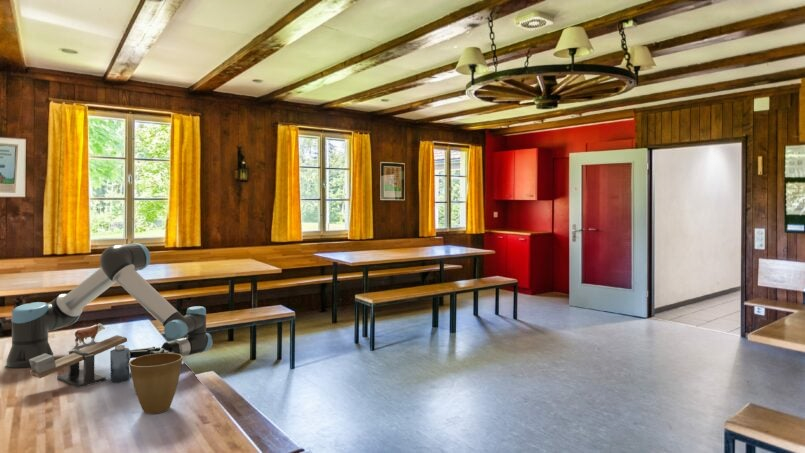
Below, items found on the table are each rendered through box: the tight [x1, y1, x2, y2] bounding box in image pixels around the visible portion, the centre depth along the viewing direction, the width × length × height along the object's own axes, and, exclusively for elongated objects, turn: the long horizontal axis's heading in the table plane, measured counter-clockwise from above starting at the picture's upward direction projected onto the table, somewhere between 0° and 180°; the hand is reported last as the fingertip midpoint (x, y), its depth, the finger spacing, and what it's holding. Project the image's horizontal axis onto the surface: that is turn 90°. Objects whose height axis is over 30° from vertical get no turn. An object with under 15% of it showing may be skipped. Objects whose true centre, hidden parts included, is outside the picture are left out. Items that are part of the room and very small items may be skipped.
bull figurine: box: [74, 323, 106, 346], centre depth 228 cm, size 4×13×8 cm, turn 155°
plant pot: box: [129, 353, 183, 415], centre depth 153 cm, size 15×15×16 cm
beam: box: [29, 334, 128, 379], centre depth 178 cm, size 9×30×6 cm, turn 148°
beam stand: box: [56, 349, 107, 388], centre depth 179 cm, size 16×9×10 cm, turn 58°
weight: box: [110, 344, 131, 384], centre depth 179 cm, size 6×6×12 cm
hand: (122, 362), depth 179 cm, fingers open, 13 cm apart
